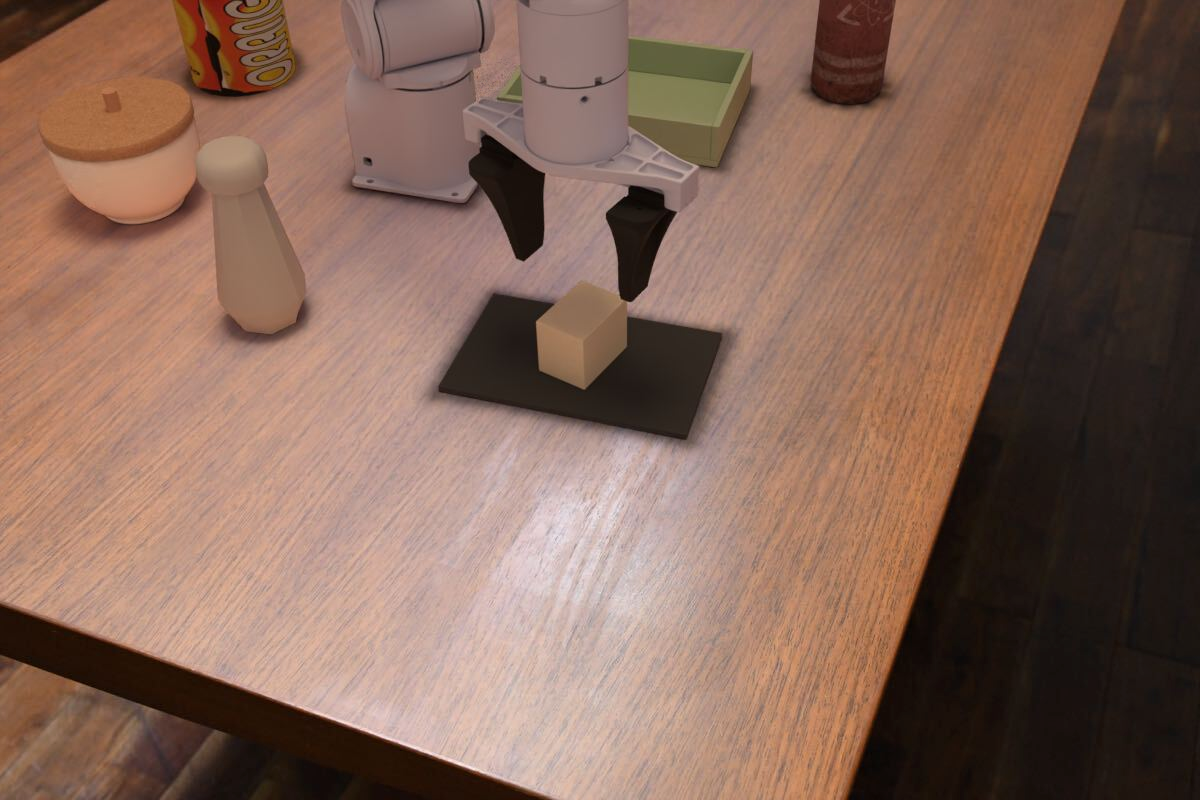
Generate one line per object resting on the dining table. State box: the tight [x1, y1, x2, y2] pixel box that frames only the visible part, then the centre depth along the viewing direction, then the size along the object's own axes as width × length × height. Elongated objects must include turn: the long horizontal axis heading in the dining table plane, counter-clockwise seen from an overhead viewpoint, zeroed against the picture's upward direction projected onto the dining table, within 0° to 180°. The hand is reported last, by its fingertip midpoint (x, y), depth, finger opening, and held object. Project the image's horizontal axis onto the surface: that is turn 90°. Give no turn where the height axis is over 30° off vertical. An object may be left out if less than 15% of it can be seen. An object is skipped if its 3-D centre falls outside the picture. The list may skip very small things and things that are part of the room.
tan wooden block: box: [536, 280, 628, 390], centre depth 76 cm, size 4×5×4 cm
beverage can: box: [171, 0, 296, 97], centre depth 104 cm, size 9×9×12 cm
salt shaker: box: [195, 134, 307, 335], centre depth 78 cm, size 6×6×13 cm
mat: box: [437, 292, 723, 440], centre depth 78 cm, size 16×10×1 cm, turn 73°
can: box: [810, 0, 897, 105], centre depth 100 cm, size 6×6×14 cm
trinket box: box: [37, 76, 201, 225], centre depth 89 cm, size 11×11×9 cm
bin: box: [496, 34, 754, 168], centre depth 101 cm, size 18×13×4 cm
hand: (580, 271), depth 73 cm, fingers open, 7 cm apart
